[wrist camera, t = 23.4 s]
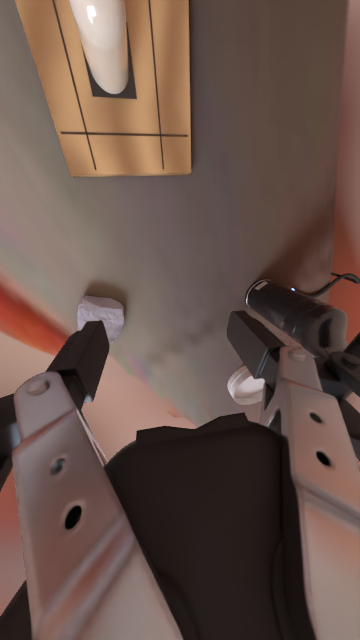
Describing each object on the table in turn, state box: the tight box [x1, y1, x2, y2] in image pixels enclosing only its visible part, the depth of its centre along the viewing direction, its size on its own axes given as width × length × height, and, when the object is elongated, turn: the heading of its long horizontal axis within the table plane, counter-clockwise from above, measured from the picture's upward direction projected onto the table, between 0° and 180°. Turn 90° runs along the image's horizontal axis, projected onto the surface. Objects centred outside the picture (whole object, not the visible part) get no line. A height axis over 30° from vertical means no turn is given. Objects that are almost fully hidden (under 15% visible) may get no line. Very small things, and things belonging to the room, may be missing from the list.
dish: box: [228, 365, 265, 405], centre depth 66 cm, size 22×22×5 cm
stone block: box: [78, 296, 124, 344], centre depth 38 cm, size 12×5×10 cm
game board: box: [15, 0, 191, 177], centre depth 22 cm, size 20×18×2 cm
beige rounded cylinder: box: [69, 0, 129, 94], centre depth 17 cm, size 5×5×9 cm
